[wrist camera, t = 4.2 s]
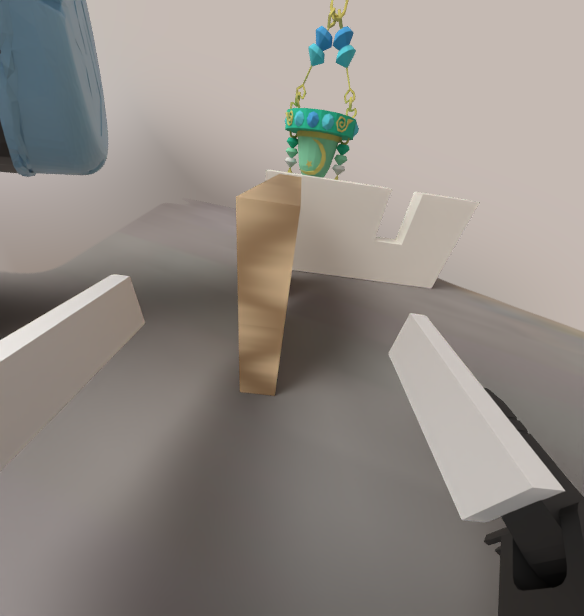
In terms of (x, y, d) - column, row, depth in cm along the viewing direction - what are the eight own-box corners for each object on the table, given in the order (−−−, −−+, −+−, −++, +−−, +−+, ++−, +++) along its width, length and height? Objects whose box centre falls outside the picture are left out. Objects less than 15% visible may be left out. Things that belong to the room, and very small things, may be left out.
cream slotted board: (261, 265, 32) (265, 170, 25) (263, 259, 34) (268, 169, 27) (431, 288, 33) (479, 202, 26) (423, 281, 35) (467, 199, 28)
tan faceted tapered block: (239, 391, 15) (235, 196, 8) (271, 275, 30) (279, 173, 23) (274, 395, 15) (300, 206, 8) (288, 278, 30) (301, 177, 23)
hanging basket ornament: (263, 250, 37) (279, -57, 20) (283, 235, 46) (306, 12, 29) (324, 264, 35) (398, -61, 18) (334, 246, 44) (389, 14, 27)
